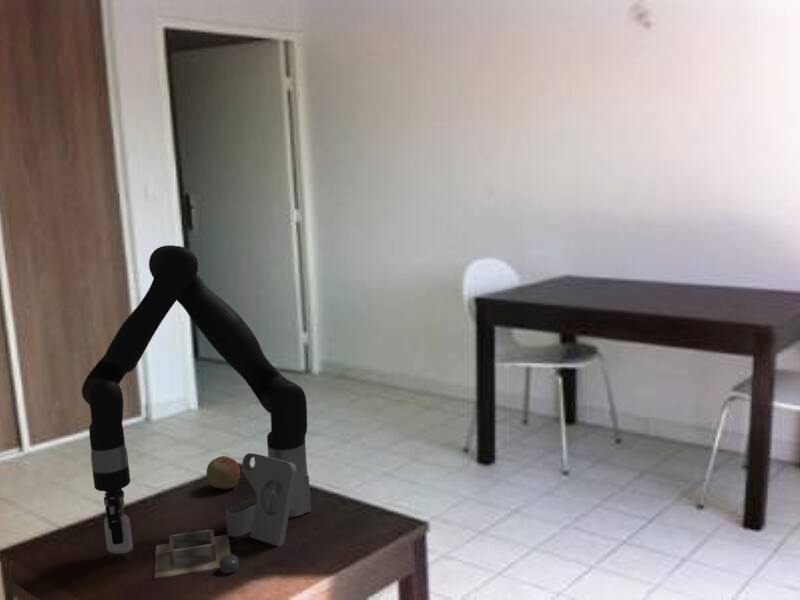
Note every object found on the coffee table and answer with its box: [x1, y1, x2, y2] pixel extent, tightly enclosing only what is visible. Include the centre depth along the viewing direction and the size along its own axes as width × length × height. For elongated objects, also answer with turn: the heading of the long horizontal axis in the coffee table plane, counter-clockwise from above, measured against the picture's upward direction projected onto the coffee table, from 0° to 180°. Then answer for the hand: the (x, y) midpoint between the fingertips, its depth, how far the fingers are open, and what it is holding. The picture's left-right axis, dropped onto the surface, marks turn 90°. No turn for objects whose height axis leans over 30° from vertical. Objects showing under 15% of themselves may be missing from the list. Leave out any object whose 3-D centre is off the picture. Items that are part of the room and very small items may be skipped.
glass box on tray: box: [154, 528, 232, 580], centre depth 183 cm, size 16×16×4 cm
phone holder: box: [225, 452, 297, 547], centre depth 191 cm, size 17×10×18 cm, turn 53°
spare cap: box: [219, 554, 240, 575], centre depth 176 cm, size 4×4×2 cm
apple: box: [206, 455, 241, 490], centre depth 224 cm, size 9×9×8 cm
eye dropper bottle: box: [103, 511, 134, 554], centre depth 185 cm, size 4×6×12 cm
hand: (118, 538), depth 185 cm, fingers closed on eye dropper bottle, 4 cm apart
